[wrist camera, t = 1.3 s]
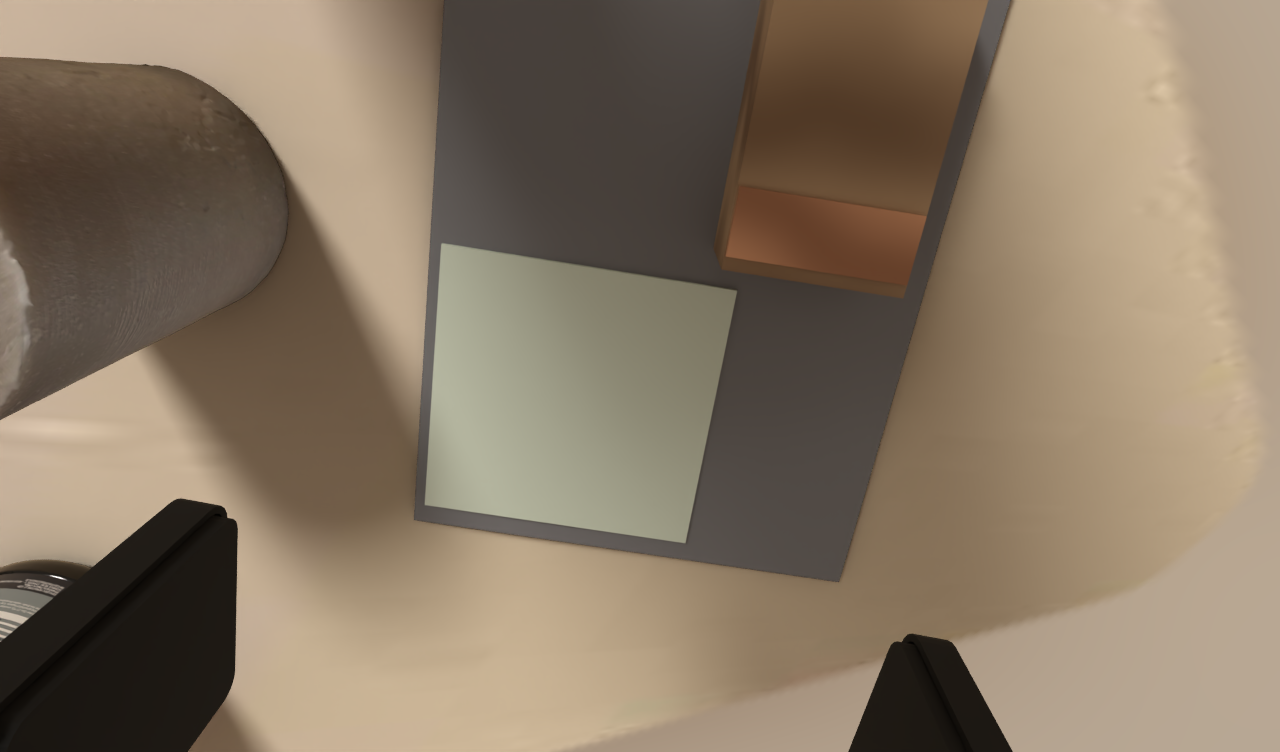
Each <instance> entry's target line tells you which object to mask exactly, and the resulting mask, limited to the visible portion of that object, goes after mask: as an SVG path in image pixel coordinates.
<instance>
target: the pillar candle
mask: <svg viewBox="0 0 1280 752" xmlns="http://www.w3.org/2000/svg"><path fill="white" fill-rule="evenodd" d="M287 225H288V202H287V198H286V192H285V184H284V180H283V176H282V174H281V171H280V168H279V165H278V163H277V161H276V159H275V157H274V155H273V153H272V151H271V149H270V147H269V146H268V144H267V142H266V140H265V139H264V137H263V136H262V135H261V134H260V133H259V131H258V129H257V128H256V127H255V125H254V124H253V123H252V122H251V120H250V119H249V118H248V117H247V116H246V115H245V114H244V113H243V112H242V110H240V109H239V108H238V107H237V106H236V105H235V104H234V103H232V102H231V101H230V100H229V99H228V98H227V97H225V96H224V95H222V94H221V93H220V92H218V91H217V90H216V89H214V88H213V87H211V86H210V85H208V84H206V83H204V82H203V81H201V80H199V79H197V78H195V77H193V76H191V75H189V74H187V73H184V72H182V71H179V70H176V69H170V68H167V67H163V66H149V65H146V64H144V65H132V64H115V63H86V62H76V61H62V60H50V59H32V58H13V57H0V420H1V419H3V418H5V417H7V416H9V415H11V414H13V413H15V412H17V411H19V410H21V409H23V408H25V407H27V406H29V405H30V404H32V403H35V402H37V401H39V400H41V399H43V398H45V397H47V396H49V395H51V394H53V393H55V392H57V391H59V390H61V389H63V388H65V387H67V386H69V385H71V384H73V383H74V382H76V381H78V380H80V379H82V378H84V377H86V376H88V375H90V374H92V373H94V372H96V371H98V370H100V369H102V368H104V367H107V366H108V365H110V364H112V363H114V362H117V361H118V360H120V359H122V358H124V357H126V356H128V355H130V354H133V353H134V352H136V351H138V350H140V349H142V348H144V347H147V346H149V345H151V344H152V343H155V342H157V341H159V340H161V339H163V338H165V337H167V336H169V335H171V334H173V333H175V332H177V331H179V330H180V329H182V328H185V327H186V326H188V325H190V324H192V323H194V322H196V321H198V320H200V319H201V318H204V317H205V316H207V315H209V314H211V313H213V312H215V311H217V310H220V309H222V308H224V307H226V306H228V305H230V304H232V303H234V302H236V301H238V300H239V299H241V298H243V297H244V296H246V295H247V294H248V293H250V292H251V291H252V290H253V289H254V288H255V287H256V286H257V285H258V284H259V283H260V282H261V281H262V280H263V279H264V278H265V277H266V276H267V275H268V273H269V272H270V270H271V269H272V267H273V265H274V263H275V261H276V259H277V258H278V256H279V254H280V251H281V250H282V247H283V243H284V241H285V237H286V230H287Z"/></svg>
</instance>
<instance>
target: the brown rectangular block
mask: <svg viewBox="0 0 1280 752" xmlns="http://www.w3.org/2000/svg"><path fill="white" fill-rule="evenodd" d="M987 3H988V0H761V1H760V6H759V11H758V17H757V22H756V27H755V32H754V38H753V43H752V48H751V53H750V59H749V64H748V69H747V74H746V80H745V85H744V90H743V95H742V101H741V106H740V111H739V116H738V122H737V127H736V132H735V138H734V143H733V148H732V153H731V159H730V164H729V169H728V174H727V180H726V185H725V190H724V195H723V201H722V206H721V211H720V216H719V222H718V227H717V232H716V237H715V243H714V248H713V249H714V251H715V254H716V257H717V259H718V262H719V265H720V267H721V270H727V271H733V272H740V273H746V274H752V275H759V276H765V277H771V278H777V279H784V280H790V281H796V282H803V283H809V284H815V285H821V286H828V287H834V288H840V289H846V290H853V291H859V292H865V293H872V294H878V295H884V296H890V297H897V298H904V294H905V291H906V287H907V284H908V281H909V277H910V274H911V270H912V267H913V263H914V260H915V256H916V253H917V249H918V246H919V242H920V239H921V235H922V232H923V228H924V225H925V221H926V218H927V214H928V210H929V207H930V203H931V200H932V196H933V193H934V189H935V186H936V182H937V179H938V175H939V172H940V168H941V165H942V161H943V158H944V154H945V151H946V147H947V144H948V140H949V137H950V133H951V130H952V126H953V123H954V119H955V116H956V112H957V109H958V105H959V102H960V98H961V95H962V91H963V88H964V84H965V81H966V77H967V74H968V70H969V67H970V63H971V60H972V56H973V52H974V49H975V45H976V42H977V38H978V35H979V31H980V28H981V24H982V21H983V17H984V14H985V10H986V7H987Z"/></svg>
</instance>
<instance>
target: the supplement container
mask: <svg viewBox="0 0 1280 752" xmlns="http://www.w3.org/2000/svg"><path fill="white" fill-rule="evenodd" d="M90 569H91V568H90V567H87V566H84V565H80V564H76V563H72V562H66V561H59V560H29V561H22V562H17V563H13V564H10V565H6V566H3V567H0V642H1V641H2V640H3V639H4V638H6V637H7V636H8V635H9V634H10V633H12V632H13V631H14V630H15V629H16V628H18V627H19V626H20V625H21V624H23V623H24V622H25V621H26V620H27V619H29V618H30V617H31V616H32V615H33V614H35V613H36V612H37V611H38V610H40V609H41V608H42V607H43V606H44V605H46V604H47V603H48V602H49V601H50V600H52V599H53V598H54V597H55V596H57V595H58V594H59V593H61V592H62V591H64V590H65V589H67V588H68V587H69V586H70V585H72V584H73V583H74V582H75V581H76V580H78V579H79V578H80V577H81V576H82V575H84V574H85V573H86V572H87V571H89V570H90Z"/></svg>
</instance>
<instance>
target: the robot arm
mask: <svg viewBox="0 0 1280 752" xmlns="http://www.w3.org/2000/svg"><path fill="white" fill-rule="evenodd" d="M237 538H238V528H237V523H236V521H235V520H234V519H230V518H227V513H226V510H225V508H223V507H222V506H219V505H214V504H208V503H203V502H198V501H192V500H187V499H176V500H174V501H173V502H171V503H170V504H168V505H167V506H166V507H165V508H164V509H162V510H161V511H160V512H159V513H158V514H156V515H155V516H154V517H153V518H151V519H150V520H149V521H148V522H147V523H145V524H144V525H143V526H142V527H141V528H139V529H138V530H137V531H136V532H135V533H133V534H132V535H131V536H130V537H128V538H127V539H126V540H125V541H124V542H122V543H121V544H120V545H119V546H118V547H116V548H115V549H114V550H113V551H112V552H110V553H109V554H108V555H107V556H105V557H104V558H103V559H102V560H101V561H99V562H98V563H97V564H96V565H95V566H93V567H92V568H91V569H90V570H89V571H87V572H86V573H85V574H84V575H82V576H81V577H80V578H79V579H78V580H76V581H75V582H74V583H73V584H72V585H70V586H69V587H68V588H67V589H65V590H64V591H62V592H61V593H59V594H58V595H57V596H55V597H54V598H53V599H52V600H50V601H49V602H48V603H47V604H46V605H44V606H43V607H42V608H41V609H40V610H38V611H37V612H36V613H35V614H33V615H32V616H31V617H30V618H29V619H27V620H26V621H25V622H24V623H23V624H21V625H20V626H19V627H18V628H16V629H15V630H14V631H13V632H12V633H10V634H9V635H8V636H7V637H6V638H4V639H3V640H2V641H1V642H0V752H188V750H189V749H190V748H191V746H192V745H193V743H194V742H195V741H196V739H197V738H198V736H199V735H200V734H201V732H202V731H203V730H204V728H205V727H206V725H207V724H208V723H209V721H210V720H211V718H212V717H213V716H214V714H215V713H216V712H217V710H218V709H219V707H220V706H221V705H222V703H223V702H224V700H225V699H226V697H227V695H228V693H229V691H230V689H231V686H232V683H233V679H234V675H235V646H236V592H237ZM849 752H1012V750H1011V748H1010V746H1009V744H1008V742H1007V741H1006V739H1005V737H1004V735H1003V733H1002V731H1001V729H1000V728H999V726H998V724H997V722H996V720H995V718H994V717H993V715H992V713H991V711H990V709H989V707H988V706H987V704H986V702H985V700H984V698H983V696H982V695H981V693H980V691H979V689H978V687H977V685H976V684H975V682H974V680H973V678H972V676H971V675H970V673H969V671H968V669H967V667H966V665H965V664H964V662H963V660H962V658H961V656H960V654H959V653H958V651H957V649H956V647H955V646H954V645H953V643H952V642H950V641H948V640H943V639H938V638H932V637H927V636H922V635H916V634H908V635H907V636H906V637H905V638H904V639H903V641H902V642H894V643H893V644H892V645H891V646H890V648H889V651H888V653H887V656H886V658H885V661H884V663H883V666H882V668H881V671H880V673H879V676H878V678H877V681H876V683H875V686H874V689H873V691H872V693H871V696H870V699H869V701H868V704H867V706H866V709H865V711H864V714H863V716H862V719H861V721H860V724H859V726H858V729H857V732H856V734H855V736H854V739H853V741H852V744H851V747H850V749H849Z"/></svg>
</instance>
